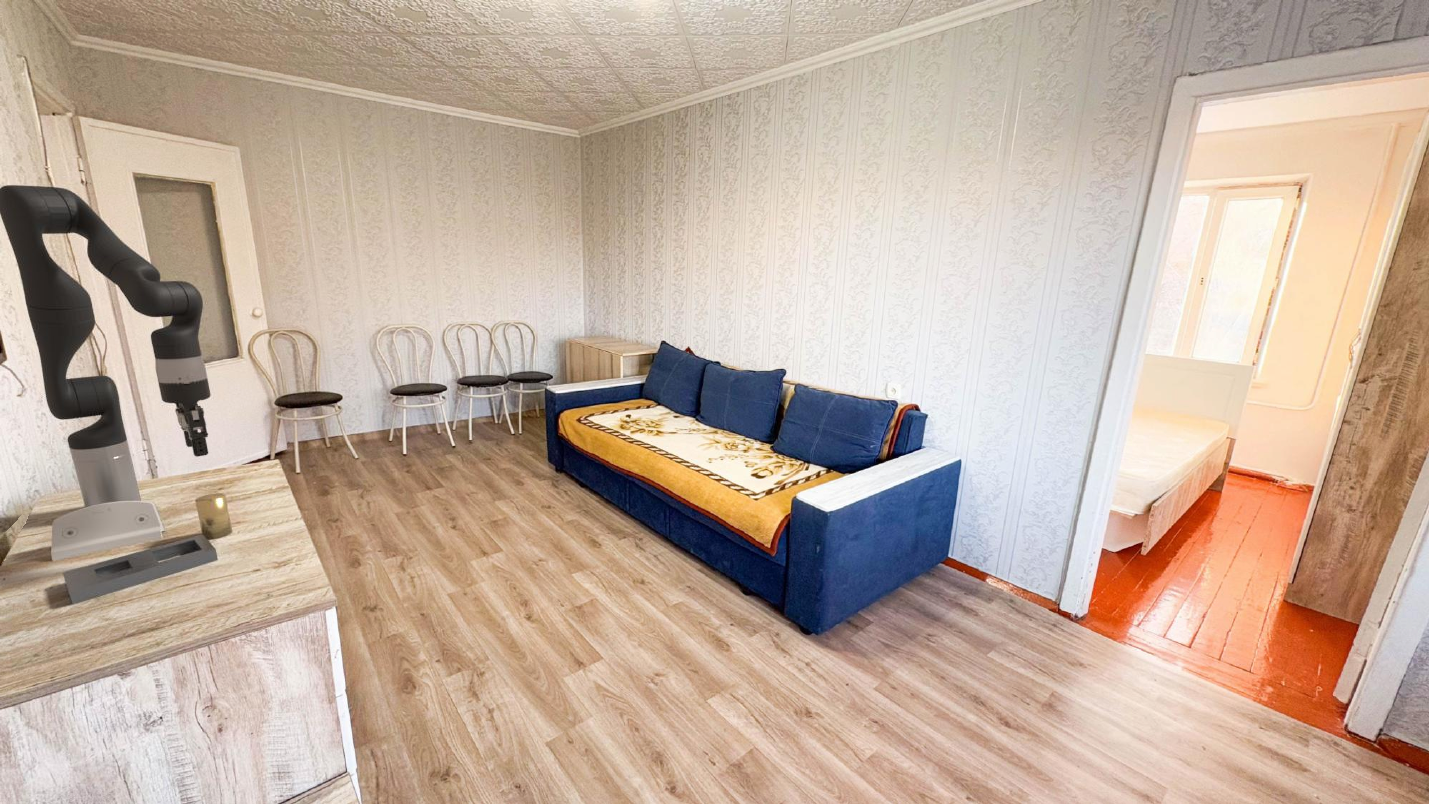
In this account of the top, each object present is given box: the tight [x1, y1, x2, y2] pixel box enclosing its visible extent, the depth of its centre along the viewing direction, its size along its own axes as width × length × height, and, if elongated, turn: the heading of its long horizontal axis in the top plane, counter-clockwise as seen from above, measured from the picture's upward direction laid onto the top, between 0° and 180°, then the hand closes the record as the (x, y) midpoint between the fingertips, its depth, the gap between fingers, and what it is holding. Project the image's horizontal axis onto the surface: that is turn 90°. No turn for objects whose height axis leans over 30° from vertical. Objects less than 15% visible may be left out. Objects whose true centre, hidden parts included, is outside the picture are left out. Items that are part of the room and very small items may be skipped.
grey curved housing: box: [50, 500, 166, 562], centre depth 118 cm, size 17×5×10 cm, turn 131°
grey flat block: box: [62, 533, 219, 605], centre depth 109 cm, size 10×20×2 cm, turn 144°
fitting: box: [194, 492, 233, 541], centre depth 123 cm, size 5×5×9 cm
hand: (197, 450), depth 119 cm, fingers open, 8 cm apart
